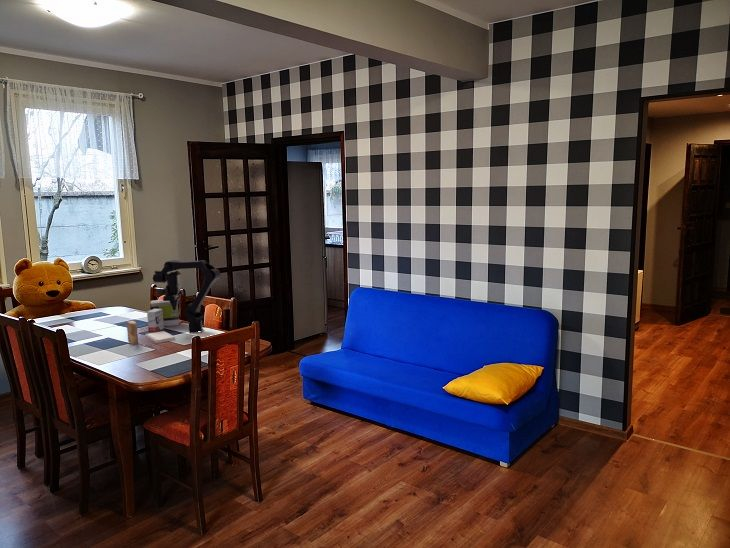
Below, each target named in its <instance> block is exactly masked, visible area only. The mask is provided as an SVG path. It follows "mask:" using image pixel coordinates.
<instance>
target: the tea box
mask: <svg viewBox="0 0 730 548" xmlns="http://www.w3.org/2000/svg"><path fill="white" fill-rule="evenodd" d="M149 304H150V305H149V306H150V310H153V309H162V310H163V323H164V327H173V326H180V315H179V307H178V305H179V304H178V305H177V308H176V310H173V308H172V305H171V303H170V301H163V299H157V300H156V299H155V300H150V303H149Z"/></svg>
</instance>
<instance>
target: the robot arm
mask: <svg viewBox="0 0 730 548" xmlns="http://www.w3.org/2000/svg"><path fill="white" fill-rule="evenodd" d="M182 269H183V270H184V269H185V270H186V269H187V270H188V269H199V270H200V271H201V273H202V274H203V275H204V280H203V284H202V286H201V287H200V289H199V291H198V293H197V295H196V296H195V299H194V300H193V302H190V303H188V304H187V305H186V307H185V309H184V312H183V315H184V318H186V320H187V323H188V331H189V332H188V333H189V334H192V333H191V332H198V331H202V330H203V331H204V328H203V319H204V317H205V316H204V314H203V313H202V312H201V305H202V304H203V302H204V300H205V299H206V297H207V295H208V293H209V292H210V290H211V287H212V286H213V285H214V284H215V283H216V282H217V281H218V279H220V277H221V272H220V271H221V270H219V269H218V268H216V267H215V266H214V265H211V264H210V263H208V261H206V260H204V259H202V260H189V261H180V260H178V259H176V260H175V259H172V260H168V261H165V262H164V264H163V268H162V270H154V274H153V275H152V281H153V283H157V284H158V283H161V284H164V283H166V285H165V287H163V288H159V289H157V291H156V295H157V296H158V297H159V298H160V297H162V296H163V297H162V300H163V301H170V303H171V305H172V308H173V310H176V308H177V305H179V303H180V299H181V297H182V296H183V295H184V290H183V289H179V287H180V283H179V282H178V276H180V275H181V274H182V273H181V272H180V271H179V270H182ZM179 295H181V296H179ZM203 331H202V332H203Z"/></svg>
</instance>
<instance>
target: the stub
mask: <svg viewBox="0 0 730 548" xmlns="http://www.w3.org/2000/svg"><path fill="white" fill-rule="evenodd" d="M126 331H127V341H128V343H130V344H131V345H137V344H139V334H138V325H137V322H136V321H134V320H129V321H126Z"/></svg>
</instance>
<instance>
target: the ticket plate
mask: <svg viewBox="0 0 730 548" xmlns="http://www.w3.org/2000/svg"><path fill="white" fill-rule="evenodd" d="M145 337H146V338H147V339H148V340H149V341H150V340H151V341H152V342H153V343H155V344H158V343H165V342H170V341H175V340H176V336H174V335H172V334H170V333H168V332H167V331H165V330H160V331H157V332H149V333H145Z"/></svg>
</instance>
